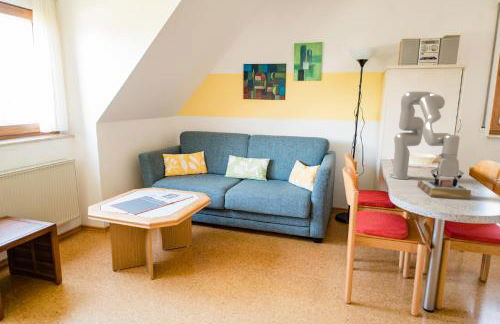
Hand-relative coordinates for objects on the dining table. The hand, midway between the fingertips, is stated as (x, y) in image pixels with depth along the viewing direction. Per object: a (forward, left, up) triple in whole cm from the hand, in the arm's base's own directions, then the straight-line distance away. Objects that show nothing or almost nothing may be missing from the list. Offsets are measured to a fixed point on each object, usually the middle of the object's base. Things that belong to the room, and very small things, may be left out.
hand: (445, 185), depth 187 cm
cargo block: (0, 0, -3) cm, 3 cm away
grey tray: (0, 0, -4) cm, 4 cm away
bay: (-4, 0, -5) cm, 6 cm away
